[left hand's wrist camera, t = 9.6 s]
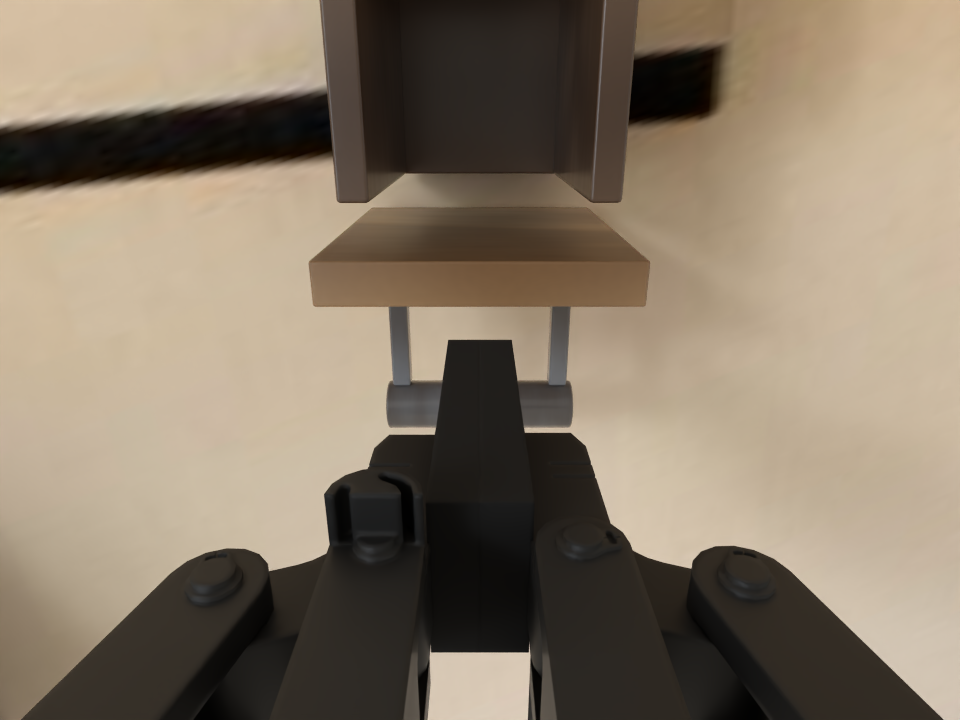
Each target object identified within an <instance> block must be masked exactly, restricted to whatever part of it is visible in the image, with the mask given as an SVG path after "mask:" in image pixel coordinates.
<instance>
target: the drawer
mask: <svg viewBox="0 0 960 720" xmlns="http://www.w3.org/2000/svg"><path fill="white" fill-rule="evenodd" d="M638 1H639V0H320V10H321V22H322V34H323V45H324V57H325V69H326V80H327V92H328V104H329V116H330V127H331V139H332V151H333V162H334V174H335V186H336V197H337V201H338V202H339V203H367V202H369V201H370V200H372V199H373V198H374V197H375V196H377V195H378V194H379V193H381V192H382V191H383V190H384V189H386V188H387V187H388V186H390V185H391V184H392V183H394V182H395V181H396V180H397V179H399V178H400V177H401V176H403V175H404V174H405V173H554V174H556V175H557V176H558V177H560V178H561V179H562V180H563V181H565V182H566V183H567V184H569V185H570V186H571V187H572V188H574V189H575V190H576V191H577V192H579V193H580V194H581V195H583V196H584V197H585V198H586V199H588V200H589V201H590V202H593V203H618V202H621V200H622V192H623V180H624V168H625V156H626V144H627V133H628V121H629V109H630V97H631V85H632V73H633V61H634V49H635V37H636V25H637V13H638ZM649 269H650V261H649V260H647V259H646V258H645V257H644V256H643V255H642V254H640V253H639V252H638V251H637V250H636V249H635V248H633V247H632V246H631V245H630V244H629V243H628V242H626V241H625V240H624V239H623V238H622V237H621V236H620V235H618V234H617V233H616V232H615V231H614V230H613V229H611V228H610V227H609V226H608V225H607V224H606V223H604V222H603V221H602V220H601V219H600V218H599V217H597V216H596V215H595V214H594V213H593V212H592V211H591V210H589V209H588V208H371V209H370V210H369V211H368V212H367V213H366V214H364V215H363V216H362V217H361V218H360V219H358V220H357V221H356V222H355V223H354V224H353V225H351V226H350V227H349V228H348V229H347V230H346V231H344V232H343V233H342V234H341V235H340V236H339V237H337V238H336V239H335V240H334V241H333V242H332V243H330V244H329V245H328V246H327V247H326V248H324V249H323V250H322V251H321V252H320V253H319V254H317V255H316V256H315V257H314V258H313V259H312V260H310V261H309V271H310V280H311V289H312V299H313V305H314V306H315V307H389V320H390V337H391V354H392V371H393V381H390V382H389V384H388V389H387V400H386V411H387V421H388V425H389V427H391V428H436V424H437V417H438V410H439V403H440V396H441V389H442V382H443V381H412V363H411V341H410V320H409V307H550V326H549V349H548V372H547V379H548V381H517V382H518V389H519V396H520V403H521V410H522V417H523V424H524V428H568V427H570V426H571V423H572V416H573V394H572V387H571V383H570V381H566V377H567V360H568V342H569V325H570V307H643V306H645V305H646V297H647V288H648V278H649Z"/></svg>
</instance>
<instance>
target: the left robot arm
mask: <svg viewBox="0 0 960 720" xmlns="http://www.w3.org/2000/svg"><path fill="white" fill-rule="evenodd" d="M324 497H325V506H326V515H327V524H328V533H329V542H330V545H329V548H328V551H327V554H325V555H323V556H321V557H319V558H317V559H314V560H312V561H309V562H306V563H302V564H299V565H295V566H291V567H286V568H282V569H278V570H273V571H269V569H268V564H267V562H266V561H265V560H264V559H263V558H262V557H261V556H260V554H257V553H254V552H252V551H249V550H246V549H222V550H217V551H213V552H208V553H205V554H203V555H200V556H198V557H196V558H194V559H191V560H189V561H187V562H186V563H184V564H183V565H182V566H180V567H179V568H177V569H176V570H175V571H173V572H172V573H171V574H170V575H169V576H168V577H167V578H166V579H165V580H164V581H163V582H162V583H161V584H160V585H158V586H157V587H156V588H155V589H154V590H153V591H152V592H151V593H150V594H149V595H148V596H147V597H146V598H145V599H144V600H143V601H142V602H141V603H140V604H139V605H138V606H137V607H136V608H135V609H134V610H133V611H132V612H131V613H130V614H129V615H128V616H127V617H126V618H125V619H124V620H123V621H122V622H121V623H120V624H119V625H118V626H116V627H115V628H114V629H113V630H112V631H111V632H110V633H109V634H108V635H107V636H106V637H105V638H104V639H103V640H102V641H101V642H100V643H99V644H98V645H97V646H96V647H95V648H94V649H93V650H92V651H91V652H90V653H89V654H88V655H87V656H86V657H85V658H84V659H83V660H82V661H81V662H80V663H79V664H78V665H77V666H76V667H74V668H73V669H72V670H71V671H70V672H69V673H68V674H67V675H66V676H65V677H64V678H63V679H62V680H61V681H60V682H59V683H58V684H57V685H56V686H55V687H54V688H53V689H52V690H51V691H50V692H49V693H48V694H47V695H46V696H45V697H44V698H43V699H42V700H41V701H40V702H39V703H38V704H37V705H36V706H35V707H34V708H33V709H31V710H30V711H29V712H28V713H27V714H26V715H25V716H24V717H23V718H22V719H21V720H427V719H428V707H429V695H430V660H429V657H430V646H431V652H529V643H530V654H531V660H530V684H529V708H528V720H943V719H942V718H941V717H940V716H939V715H938V714H937V713H936V712H935V711H934V710H933V709H932V708H931V707H930V706H929V705H928V704H927V703H926V702H925V701H924V700H923V699H922V698H921V697H920V696H919V695H917V694H916V693H915V692H914V691H913V690H912V689H911V688H910V687H909V686H908V685H907V684H906V683H905V682H904V681H903V680H902V679H901V678H900V677H899V676H898V675H897V674H896V673H895V672H894V671H893V670H892V669H891V668H890V667H889V666H888V665H887V664H885V663H884V662H883V661H882V660H881V659H880V658H879V657H878V656H877V655H876V654H875V653H874V652H873V651H872V650H871V649H870V648H869V647H868V646H867V645H866V644H865V643H864V642H863V641H862V640H861V639H860V638H859V637H858V636H857V635H856V634H855V633H854V632H852V631H851V630H850V629H849V628H848V627H847V626H846V625H845V624H844V623H843V622H842V621H841V620H840V619H839V618H838V617H837V616H836V615H835V614H834V613H833V612H832V611H831V610H830V609H829V608H828V607H827V606H826V605H825V604H824V603H823V602H822V601H821V600H819V599H818V598H817V597H816V596H815V595H814V594H813V593H812V592H811V591H810V590H809V589H808V588H807V587H806V586H805V585H804V584H803V583H802V582H801V581H800V580H799V579H798V578H797V577H796V576H795V575H794V574H793V573H792V572H791V571H789V570H788V569H787V568H785V567H784V566H783V565H781V564H780V563H779V562H777V561H776V560H775V559H773V558H771V557H768V556H766V555H764V554H762V553H759V552H757V551H755V550H751V549H746V548H741V547H736V546H715V547H713V548H710V549H707V550H704V551H702V552H700V553H699V555H698V556H697V557H696V558H695V559H694V560H693V563H692V569H689V568H685V567H680V566H676V565H671V564H667V563H663V562H659V561H656V560H653V559H649V558H647V557H645V556H643V555H640V554H638V553H636V552H634V551H633V550H632V547H631V545H630V543H629V541H628V540H627V538H626V537H625V535H624V534H623V532H621V531H620V530H619V529H617V528H616V527H614V526H613V525H612V524H610V520H609V517H608V514H607V511H606V508H605V505H604V502H603V499H602V495H601V492H600V489H599V486H598V483H597V480H596V478H595V474H594V471H593V467H592V465H591V461H590V458H589V455H588V452H587V449H586V446H585V445H584V444H583V443H581V442H580V441H579V440H578V439H577V438H576V437H575V436H574V435H572V434H571V433H525V431H524V424H523V417H522V410H521V403H520V396H519V389H518V382H517V375H516V368H515V360H514V353H513V346H512V340H448V346H447V353H446V360H445V368H444V375H443V382H442V389H441V396H440V403H439V410H438V417H437V424H436V431H435V435H389V436H388V437H386V438H385V439H384V440H383V441H382V442H381V443H380V444H379V445H378V446H376V447H375V448H374V451H373V454H372V457H371V461H370V464H369V467H368V469H365V470H360V471H357V472H354V473H351V474H348V475H345V476H344V477H342V478H340V479H339V480H337V481H336V482H334V483H333V484H332V485H331V486H330V487H329V489H328V490H327V491H326V493H325V494H324Z"/></svg>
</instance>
